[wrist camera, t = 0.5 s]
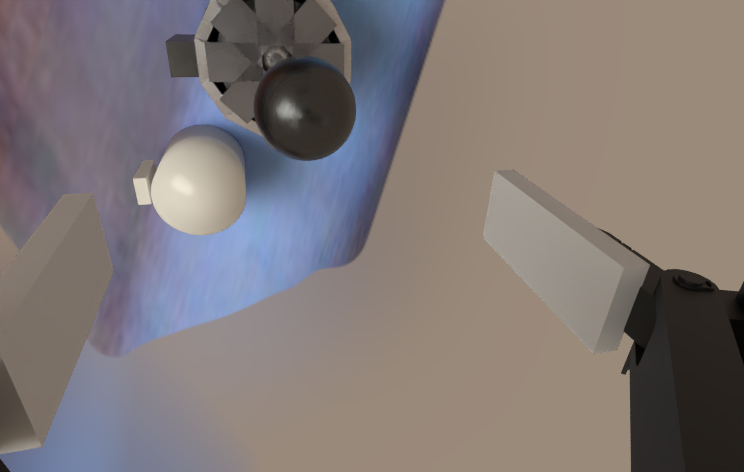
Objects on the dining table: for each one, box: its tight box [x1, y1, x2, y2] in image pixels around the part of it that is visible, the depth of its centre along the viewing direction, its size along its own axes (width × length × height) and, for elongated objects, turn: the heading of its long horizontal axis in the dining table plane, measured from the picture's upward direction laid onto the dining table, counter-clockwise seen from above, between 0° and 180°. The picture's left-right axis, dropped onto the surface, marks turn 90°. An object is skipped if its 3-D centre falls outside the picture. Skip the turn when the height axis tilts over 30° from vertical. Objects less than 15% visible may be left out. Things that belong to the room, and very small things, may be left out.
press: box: [166, 0, 351, 136], centre depth 39 cm, size 12×14×12 cm
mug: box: [133, 125, 246, 235], centre depth 43 cm, size 8×9×9 cm
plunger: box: [217, 0, 356, 161], centre depth 27 cm, size 9×9×20 cm
